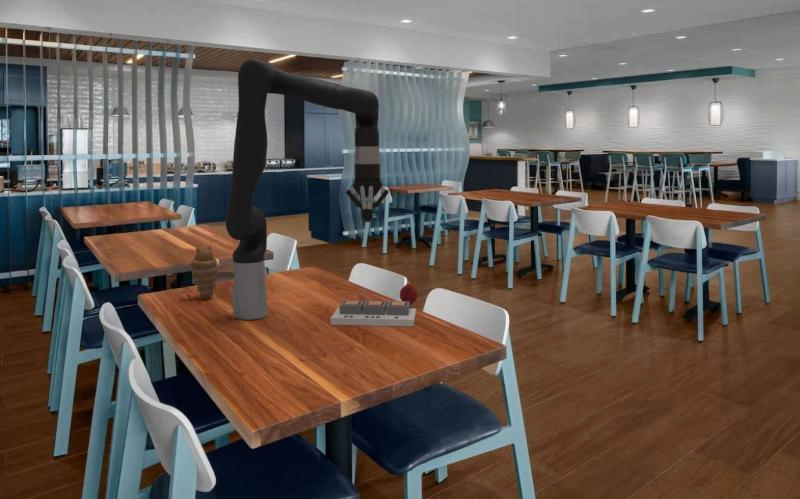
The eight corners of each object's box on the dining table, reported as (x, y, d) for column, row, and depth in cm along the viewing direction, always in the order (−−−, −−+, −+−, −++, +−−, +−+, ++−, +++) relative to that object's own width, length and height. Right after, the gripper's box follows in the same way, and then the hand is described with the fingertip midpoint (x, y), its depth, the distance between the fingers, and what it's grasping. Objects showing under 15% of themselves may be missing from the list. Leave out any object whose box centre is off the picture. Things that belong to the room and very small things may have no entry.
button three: (367, 311, 179) (367, 304, 178) (369, 307, 182) (369, 301, 182) (381, 311, 178) (380, 304, 178) (382, 307, 182) (382, 301, 182)
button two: (344, 310, 179) (344, 304, 179) (346, 307, 183) (346, 300, 183) (357, 311, 179) (357, 304, 178) (359, 307, 183) (359, 301, 182)
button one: (391, 311, 178) (391, 305, 178) (392, 308, 182) (392, 301, 182) (404, 311, 178) (404, 305, 177) (405, 308, 182) (405, 301, 181)
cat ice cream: (212, 294, 210) (209, 243, 207) (224, 298, 205) (221, 246, 202) (189, 299, 204) (185, 247, 201) (200, 303, 198) (197, 249, 195)
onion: (415, 308, 191) (415, 284, 189) (398, 307, 192) (398, 283, 191) (419, 304, 196) (419, 280, 195) (401, 303, 198) (401, 279, 196)
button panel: (330, 324, 174) (330, 309, 174) (338, 313, 186) (338, 299, 185) (413, 326, 172) (413, 311, 172) (416, 314, 184) (416, 300, 183)
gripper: (342, 162, 171) (343, 223, 174) (388, 162, 170) (388, 223, 173) (346, 162, 179) (348, 220, 182) (391, 161, 178) (391, 220, 181)
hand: (368, 221), depth 177 cm, fingers closed
